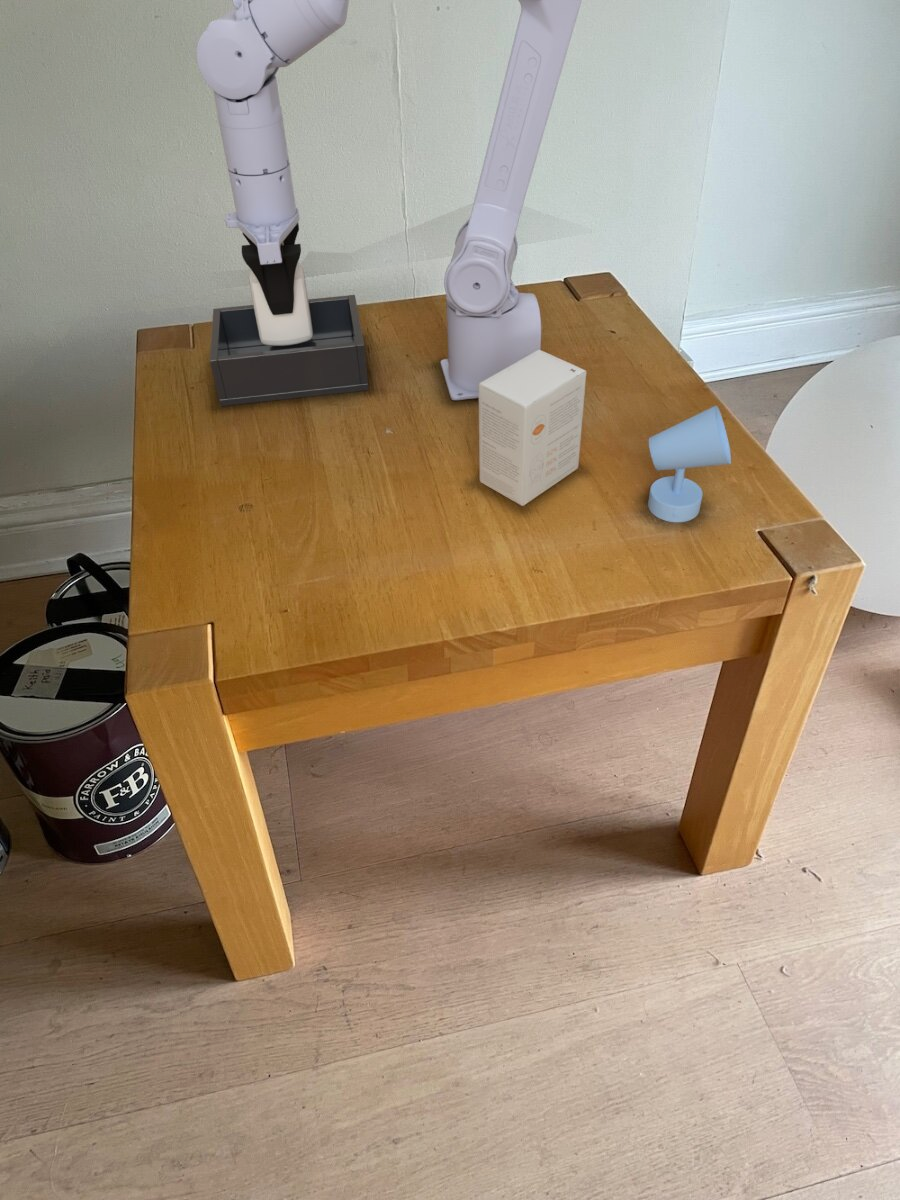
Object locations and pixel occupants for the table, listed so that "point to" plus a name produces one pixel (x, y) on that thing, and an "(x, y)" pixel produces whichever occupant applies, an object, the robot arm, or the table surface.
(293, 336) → the eye dropper bottle
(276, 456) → the table surface
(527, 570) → the table surface
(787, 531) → the table surface
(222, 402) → the open rectangular box
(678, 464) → the spotlight
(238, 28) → the robot arm
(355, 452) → the table surface
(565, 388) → the small box
